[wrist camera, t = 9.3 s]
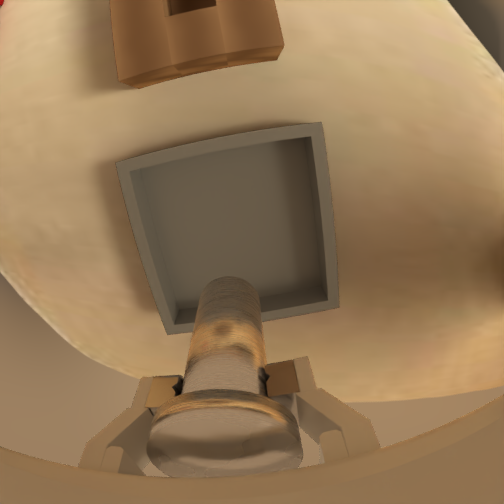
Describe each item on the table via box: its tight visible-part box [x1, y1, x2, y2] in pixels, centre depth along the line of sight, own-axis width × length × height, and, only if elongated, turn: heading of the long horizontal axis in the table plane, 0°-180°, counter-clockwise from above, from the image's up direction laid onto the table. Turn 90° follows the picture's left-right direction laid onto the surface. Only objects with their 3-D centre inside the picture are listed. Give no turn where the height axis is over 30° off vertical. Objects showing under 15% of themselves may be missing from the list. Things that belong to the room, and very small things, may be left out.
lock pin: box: [146, 276, 303, 477], centre depth 11 cm, size 4×4×9 cm
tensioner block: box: [110, 0, 284, 89], centre depth 18 cm, size 12×12×5 cm
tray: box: [115, 122, 339, 335], centre depth 26 cm, size 16×16×4 cm
